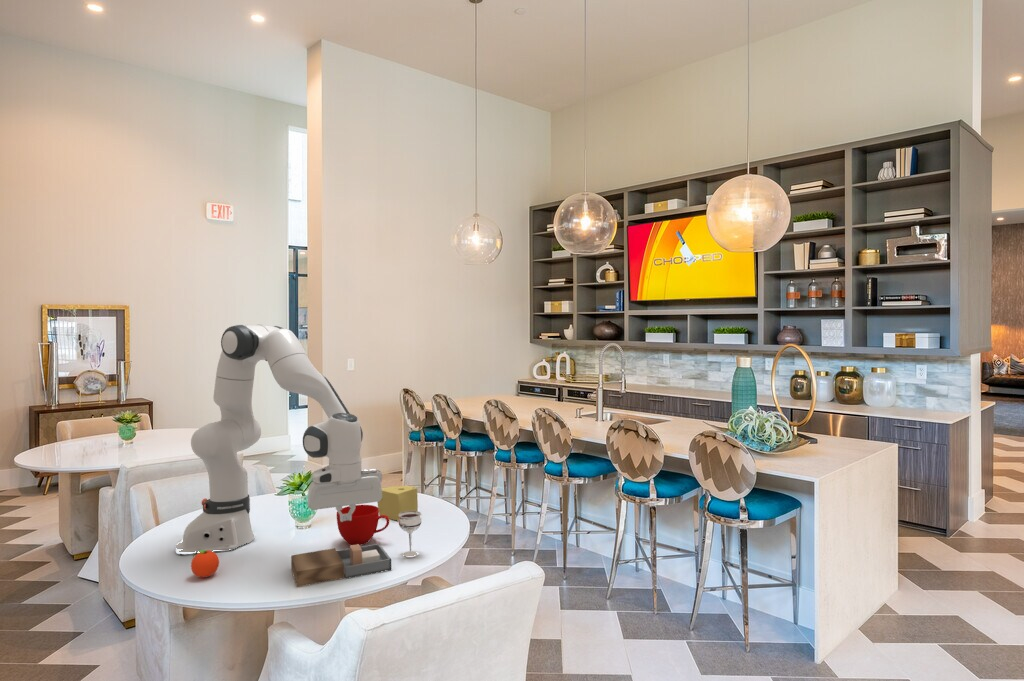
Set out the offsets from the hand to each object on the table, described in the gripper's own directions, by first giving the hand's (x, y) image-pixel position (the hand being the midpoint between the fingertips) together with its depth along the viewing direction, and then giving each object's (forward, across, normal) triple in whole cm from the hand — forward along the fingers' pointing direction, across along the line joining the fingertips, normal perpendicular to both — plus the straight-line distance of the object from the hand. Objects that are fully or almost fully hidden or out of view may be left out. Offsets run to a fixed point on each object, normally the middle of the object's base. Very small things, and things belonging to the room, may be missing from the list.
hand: (345, 520), depth 172 cm
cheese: (+14, -26, -41) cm, 50 cm away
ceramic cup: (+14, -9, -19) cm, 25 cm away
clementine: (+14, +36, -13) cm, 41 cm away
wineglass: (+13, -19, -2) cm, 23 cm away
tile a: (+10, -6, 0) cm, 12 cm away
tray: (+13, -5, 0) cm, 14 cm away
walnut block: (+13, +8, 0) cm, 16 cm away
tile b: (+10, -1, 0) cm, 10 cm away
